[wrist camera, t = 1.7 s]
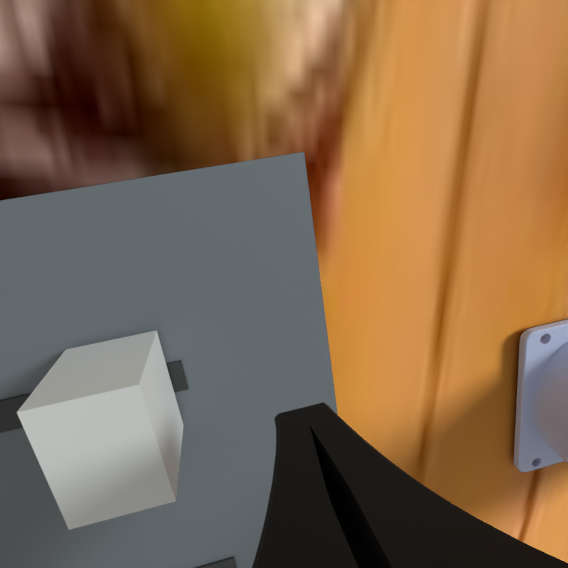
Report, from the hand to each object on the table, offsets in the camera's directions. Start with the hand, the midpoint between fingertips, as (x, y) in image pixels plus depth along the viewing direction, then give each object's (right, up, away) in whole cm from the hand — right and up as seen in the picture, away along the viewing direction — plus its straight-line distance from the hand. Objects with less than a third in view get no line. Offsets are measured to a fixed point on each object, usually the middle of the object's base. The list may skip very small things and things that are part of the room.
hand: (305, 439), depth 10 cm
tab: (-6, 0, +4) cm, 7 cm away
